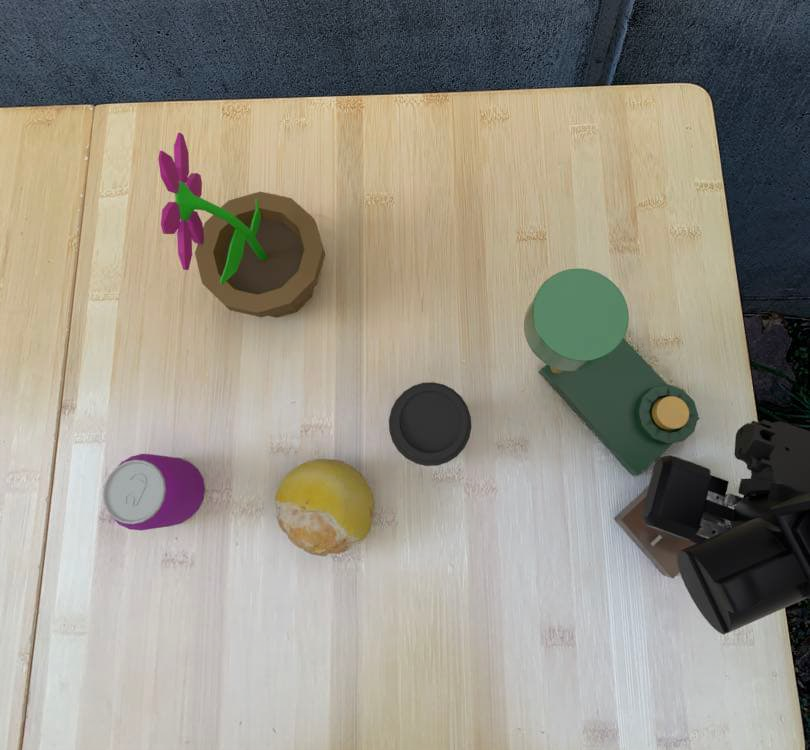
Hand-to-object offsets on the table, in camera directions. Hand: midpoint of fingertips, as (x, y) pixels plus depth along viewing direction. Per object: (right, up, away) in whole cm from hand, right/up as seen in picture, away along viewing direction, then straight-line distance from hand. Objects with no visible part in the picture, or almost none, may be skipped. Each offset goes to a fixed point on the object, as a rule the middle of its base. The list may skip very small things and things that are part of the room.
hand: (717, 522), depth 65 cm
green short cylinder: (-15, +19, -4) cm, 24 cm away
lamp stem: (-12, +13, +17) cm, 25 cm away
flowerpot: (-46, +24, +21) cm, 56 cm away
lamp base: (-5, +10, +16) cm, 20 cm away
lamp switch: (0, +9, +12) cm, 15 cm away
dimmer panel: (0, -3, +13) cm, 13 cm away
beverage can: (-57, -1, +14) cm, 59 cm away
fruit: (-39, -2, +14) cm, 41 cm away
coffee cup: (-27, +6, +16) cm, 32 cm away
